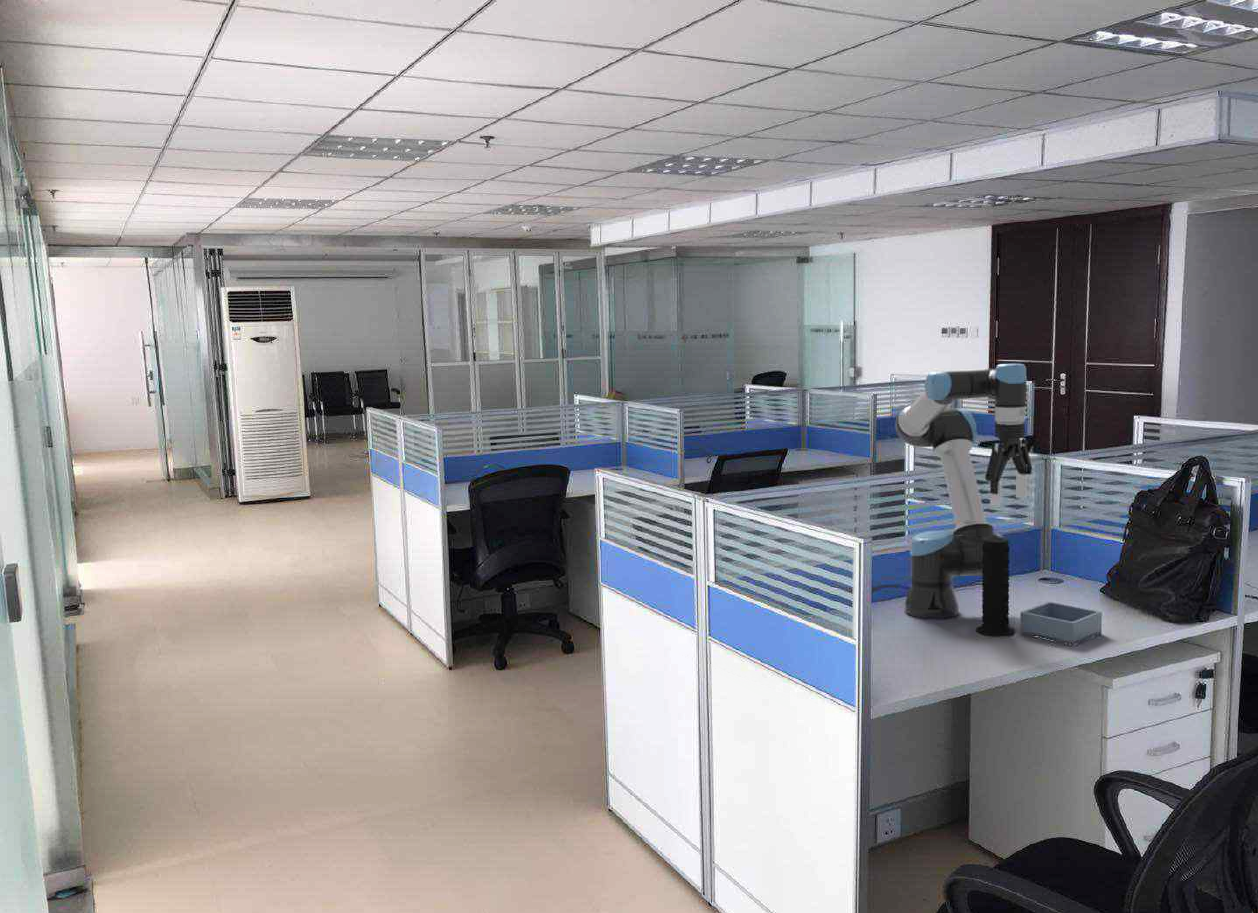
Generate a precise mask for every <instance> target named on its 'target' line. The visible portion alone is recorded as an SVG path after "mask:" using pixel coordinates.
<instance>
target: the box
mask: <svg viewBox="0 0 1258 913" xmlns="http://www.w3.org/2000/svg"><path fill="white" fill-rule="evenodd" d="M1102 615H1103V614H1102V611H1098V610H1094V609H1089V608H1085V607H1079V606H1073V605H1069V604H1063V603H1058V602H1052V601H1047V602H1045V603H1042V604H1038V605H1036V606H1034V607H1030V608H1028V609H1025V610H1022V611H1020V619H1019V620H1020V621H1019V622H1020V624H1019V626H1020V628H1019V630H1020V631H1019V632H1020V633H1021V634H1020V635H1023V634H1024V636H1027V635H1029V636H1028V637H1032V636H1038V637H1041V638H1046V639H1049V640H1053V641H1056V642H1055V643H1058V642H1060V643H1059V644H1062V643H1067V644H1071V645H1074V644H1076V643H1079V644H1082V643H1083V642H1082V641H1084V642H1086V641H1088V640H1090V639H1089V638H1091V637H1093V636H1095V637H1097V635H1098V636H1099V634H1100V635H1102V626H1103V625H1102V624H1103V622H1102V619H1103V618H1102ZM1093 638H1094V637H1093ZM1087 639H1088V640H1087ZM1091 639H1092V638H1091ZM1049 640H1048V641H1049ZM1085 640H1086V641H1085ZM1053 641H1052V642H1053ZM1067 644H1066V645H1067ZM1071 645H1070V646H1071Z"/></svg>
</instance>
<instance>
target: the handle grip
mask: <svg viewBox="0 0 1258 913" xmlns="http://www.w3.org/2000/svg"><path fill="white" fill-rule="evenodd" d="M1003 537H1004V536H1003ZM1003 537H999V536H992V537H986V538H983V539H982V541H983V546H982V550H983V554H982V555H983V558H982V563H983V565H982V567H983V569H982V574H983V575H982V576H981V578H982V581H981V582H982V583H981V584H982V585H981V586H982V588H981V590H982V592H981V594H982V595H981V596H982V599H981V602H982V604H981V609H982V611H981V613H982V616H981V625H979V626H977V627H976V628H975V632H976V633H978V634H979V635H982V636H986V637H991V636H994V637H993V638H998V637H997V636H1008V637H1012V636H1014V635H1015V634H1016V631H1015V629H1013V628H1012V627H1010V625H1009V623H1010V620H1009V615H1010V613H1009V611H1010V606H1009V603H1010V601H1009V599H1010V594H1009V592H1010V589H1009V587H1010V581H1009V580H1010V577H1009V576H1010V570H1009V568H1010V566H1009V564H1010V558H1009V557H1010V545H1009V544H1010V540H1011V539H1010V538H1006V537H1004V538H1003ZM995 636H996V637H995Z"/></svg>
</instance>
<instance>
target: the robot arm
mask: <svg viewBox="0 0 1258 913" xmlns="http://www.w3.org/2000/svg"><path fill="white" fill-rule="evenodd" d="M925 377H926V379H925V380H924V391H923V393H921V395H919V396H918V397H917V399H916V400H915V401H914V403H913V404H911V405H910V406H907V407H905V408H904V409H902V410H901V411H900V412H899V414H898V415H897V416H896V420H895V426H894V427H895V430H896V431H895V432H896V433H897V435H898V437H899V439H901V440H902V441H903V442H904V443H906V444H908V445H910V446H913V447H917V448H932V450H933V453H934V455H935V456H936V457H938V458H940V461H941V466H942V471H943V476H944V480H945V483H946V488H947V492H948V497H949V501H950V507H951V511H952V514H953V520H954V522H955V528H954V530H953V531H952V532H951V531H949V530H930V531H929V530H927V531H923V532H920V533H918V534H916V535H914V536H913V537H912V539H911V540H910V550H909V554H910V586H909V589H908V592H907V596H906V598H905V601H904V612H905V613H906V614H908V615H909V616H912V617H917V618H921V619H922V618H923V619H933V620H937V619H938V620H940V619H941V620H942V619H948V618H953V617H956V616H958V615H959V614H960V608H959V606H960V605H959V603H958V600H957V597H956V594H955V591H954V589H953V577H960V576H961V577H965V576H983V574H982V569H983V567H982V565H983V563H982V558H983V555H982V554H983V550H982V546H983V541H982V539H983V538H986V537H992V536H999V537H1003V538H1005V537H1004V536H1003V535H1002V534H1001V533H997V532H996V533H995V529H994V526H993V525H992V524H991V523H989V522H987V520H986V516H985V515H986V514H985V512H984V508H983V503H982V499H981V495H980V494H981V493H980V490H979V486H978V483H977V478H976V474H975V470H974V467H973V461H972V458H971V454H970V451H971V450H973V446H974V444H976V443H975V442H976V440H977V439H978V438H977V437H978V432H977V430H978V429H977V425H976V420H975V418H974V416H973V414H972V413H971V412H970V411H969V410H968V409H965V408H956V407H950V408H947V407H948V406H949V405H951V404H952V403H953V401H955V400H960V399H961V400H962V399H964V400H965V399H981V398H982V399H983V398H984V399H985V398H986V399H987V398H988V399H989V398H994V421H995V422H996V423H995V424H994V437H995V438H997V439H999V441H998V443H997V442H993V443H992V444H991V453H990V458H989V462H988V465H987V468H986V472H985V476H984V479H985V480H986V482H990V483H989V485H990V487H989V493H990V494H989V506H993V507H998V508H999V507H1002V485H1003V484H1002V483H1003V482H1002V481H1000V480H1001V478H1002V476H1003V473H1004V471H1005V468H1006V465H1007V463H1008V461H1010V460H1011V461H1012V462H1013V464H1014V467H1015V468H1016V470H1017V472H1018V473H1016V474H1015V476H1016V477H1015V498H1016V499H1024V500H1025V499H1027V498H1028V475H1032V470H1033V466H1032V462H1031V457H1030V454H1029V450H1028V444H1027V438H1025V437H1026V424H1025V423H1024V422H1025V421H1026V414H1027V410H1026V405H1027V404H1026V403H1027V402H1026V401H1027V399H1026V397H1027V380H1028V377H1027V367H1026V365H1025V364H1023V363H999V364H997V365H996V367H995V368H986V369H978V370H954V371H952V370H951V371H945V370H944V371H943V370H942V371H935V372H930V373H928V374H927V375H926V376H925Z"/></svg>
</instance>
